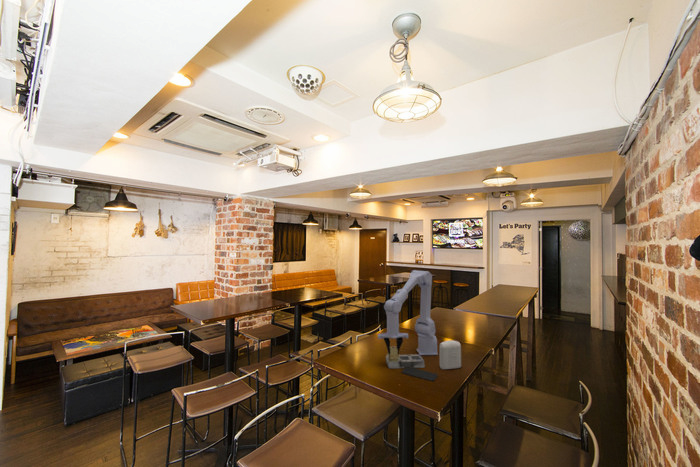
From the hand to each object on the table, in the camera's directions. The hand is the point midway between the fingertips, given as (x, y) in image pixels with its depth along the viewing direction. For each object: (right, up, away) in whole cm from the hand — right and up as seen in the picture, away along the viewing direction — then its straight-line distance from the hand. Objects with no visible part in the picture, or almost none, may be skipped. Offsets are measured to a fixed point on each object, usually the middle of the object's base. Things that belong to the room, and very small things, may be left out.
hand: (393, 353), depth 136 cm
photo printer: (+26, -5, -4) cm, 27 cm away
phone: (+10, -6, -10) cm, 15 cm away
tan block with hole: (0, -4, 0) cm, 4 cm away
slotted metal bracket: (+5, -5, 0) cm, 8 cm away
